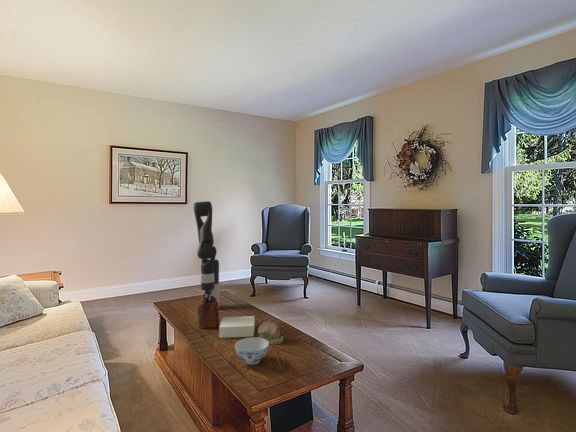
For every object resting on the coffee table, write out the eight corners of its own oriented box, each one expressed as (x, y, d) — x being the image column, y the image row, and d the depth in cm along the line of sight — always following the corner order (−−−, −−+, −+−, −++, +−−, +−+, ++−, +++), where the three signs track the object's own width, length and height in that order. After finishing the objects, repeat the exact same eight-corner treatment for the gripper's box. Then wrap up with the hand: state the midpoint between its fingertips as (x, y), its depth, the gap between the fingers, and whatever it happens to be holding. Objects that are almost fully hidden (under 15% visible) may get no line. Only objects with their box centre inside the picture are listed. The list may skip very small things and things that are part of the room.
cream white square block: (223, 327, 193) (222, 317, 193) (254, 326, 194) (254, 316, 194) (219, 338, 177) (219, 327, 177) (253, 337, 178) (253, 325, 178)
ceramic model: (252, 342, 171) (252, 322, 170) (262, 334, 181) (262, 316, 181) (277, 346, 165) (277, 326, 165) (286, 338, 176) (286, 319, 175)
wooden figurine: (219, 324, 198) (218, 293, 197) (218, 327, 191) (218, 296, 191) (198, 325, 196) (198, 294, 195) (197, 329, 190) (196, 297, 189)
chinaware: (272, 366, 144) (272, 348, 144) (237, 371, 140) (237, 353, 140) (265, 351, 159) (264, 335, 159) (233, 356, 155) (232, 339, 154)
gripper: (202, 278, 200) (203, 305, 200) (199, 284, 185) (199, 313, 186) (215, 278, 200) (216, 305, 201) (212, 283, 186) (213, 312, 187)
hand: (208, 309), depth 193 cm, fingers open, 8 cm apart
